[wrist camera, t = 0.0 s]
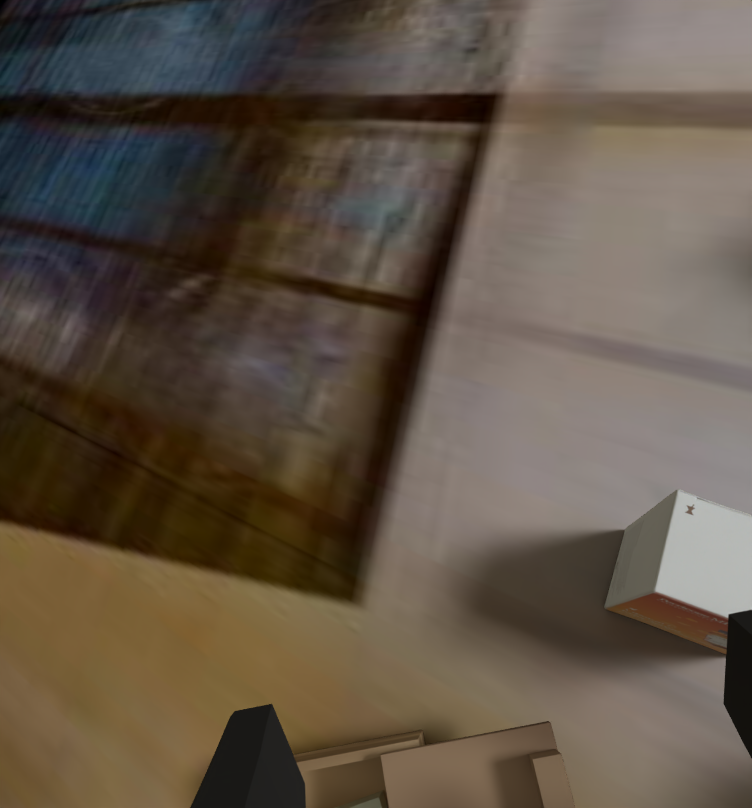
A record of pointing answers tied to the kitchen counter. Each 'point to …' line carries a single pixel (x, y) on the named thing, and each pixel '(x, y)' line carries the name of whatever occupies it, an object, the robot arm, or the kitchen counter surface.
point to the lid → (480, 772)
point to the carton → (349, 770)
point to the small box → (685, 569)
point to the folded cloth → (368, 802)
